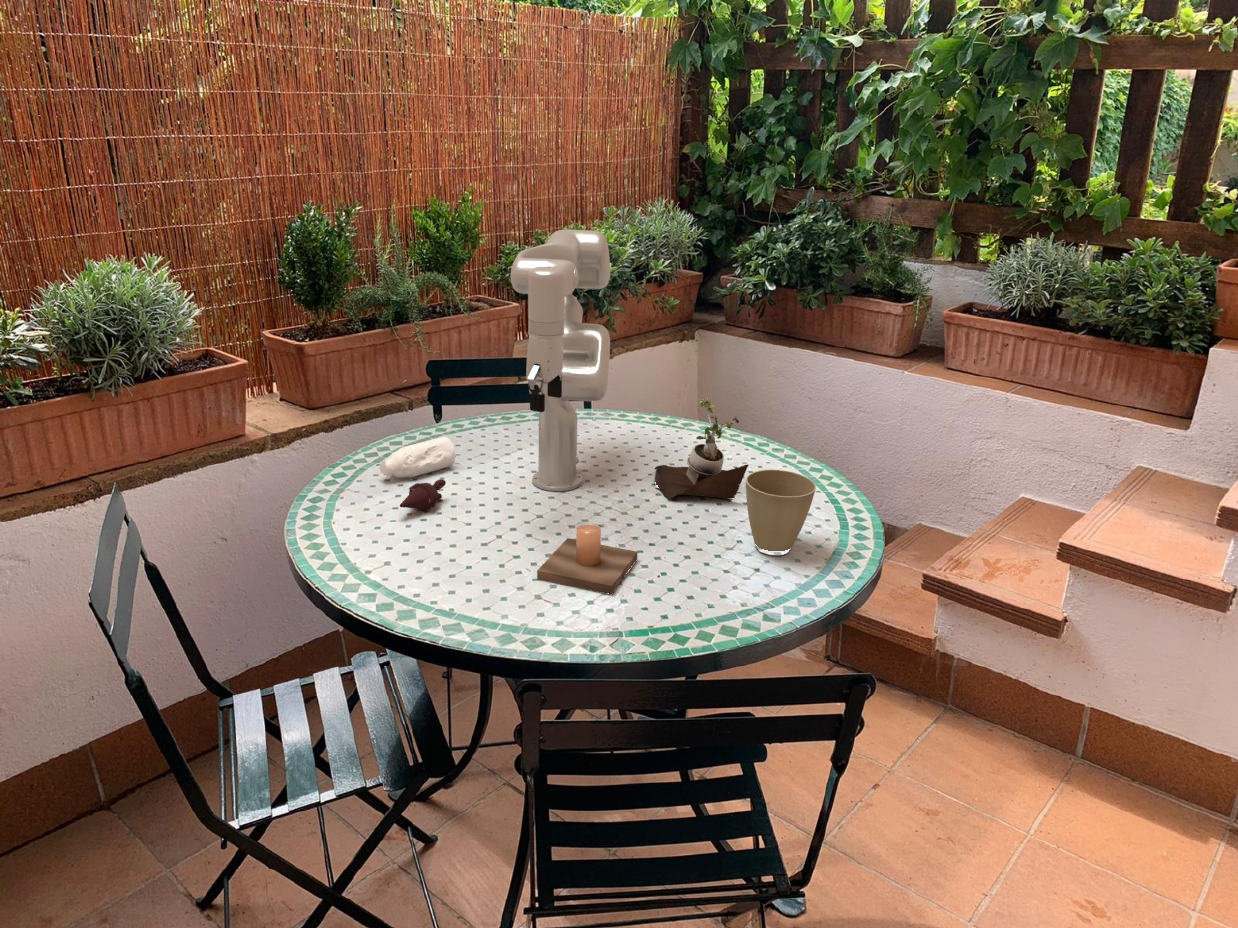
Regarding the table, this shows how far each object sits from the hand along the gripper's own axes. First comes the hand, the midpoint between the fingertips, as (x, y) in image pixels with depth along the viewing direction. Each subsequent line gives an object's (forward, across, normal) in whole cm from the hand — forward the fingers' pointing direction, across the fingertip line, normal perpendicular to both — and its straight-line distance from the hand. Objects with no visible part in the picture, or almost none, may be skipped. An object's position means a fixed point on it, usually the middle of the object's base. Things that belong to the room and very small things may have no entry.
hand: (546, 403), depth 200 cm
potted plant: (+30, -33, +28) cm, 52 cm away
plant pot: (+29, -6, +52) cm, 59 cm away
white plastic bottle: (+30, -14, -40) cm, 52 cm away
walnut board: (+28, +18, +17) cm, 37 cm away
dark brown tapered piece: (+29, +5, -29) cm, 41 cm away
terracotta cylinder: (+26, +18, +17) cm, 36 cm away
